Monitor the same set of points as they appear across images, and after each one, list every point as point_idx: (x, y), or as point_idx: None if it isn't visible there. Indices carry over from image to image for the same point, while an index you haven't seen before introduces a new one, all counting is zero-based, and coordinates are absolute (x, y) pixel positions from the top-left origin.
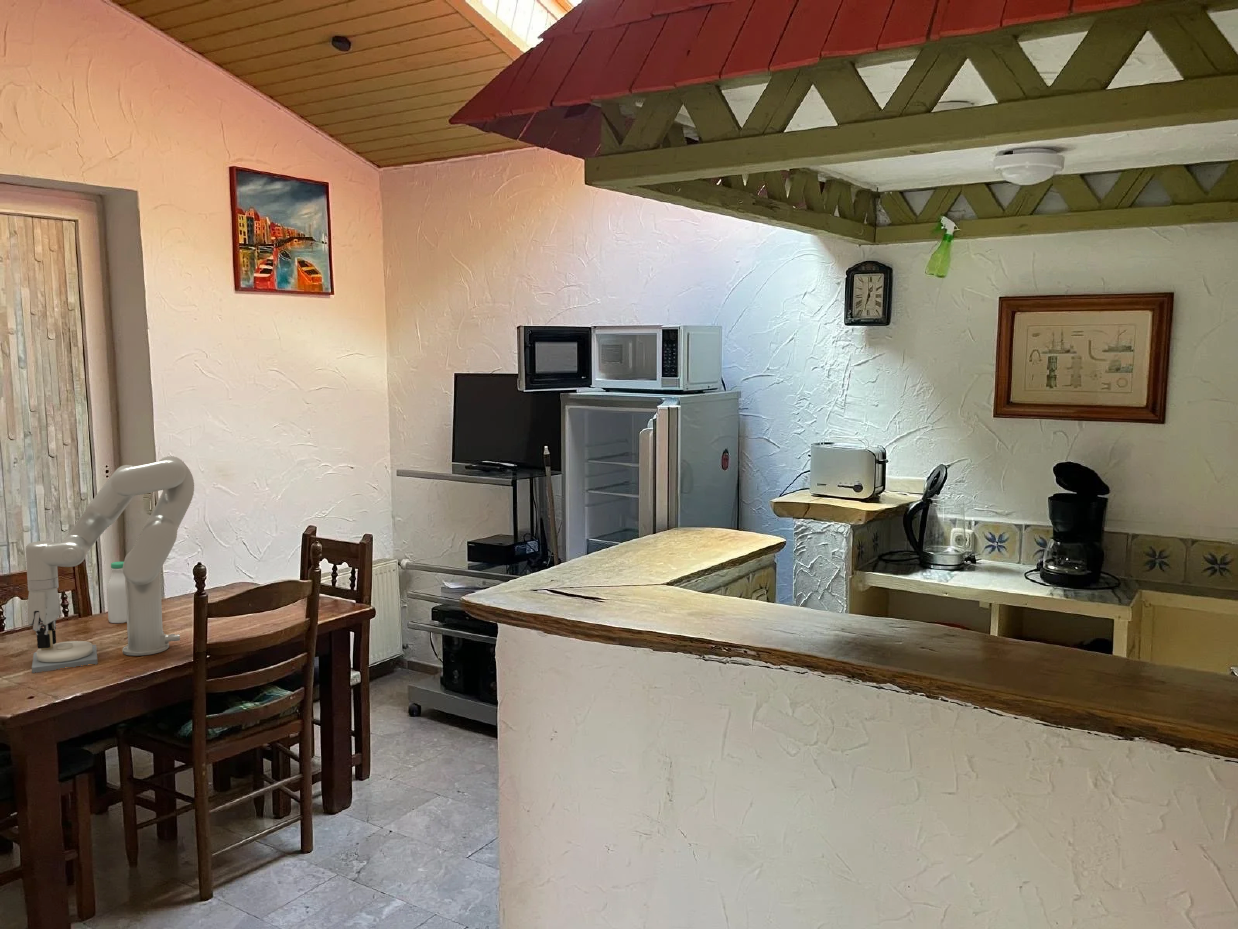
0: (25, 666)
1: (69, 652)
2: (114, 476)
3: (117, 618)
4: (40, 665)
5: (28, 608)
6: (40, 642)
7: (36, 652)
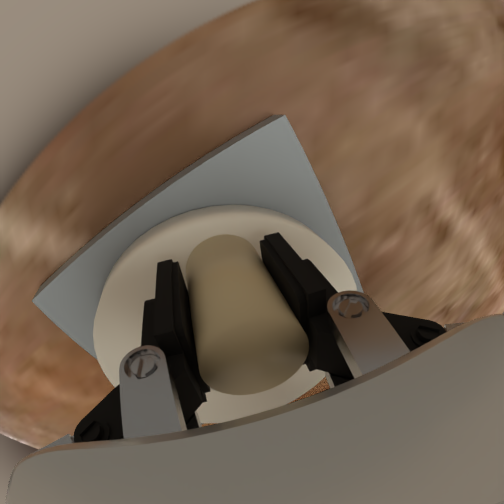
0: (111, 176)
1: None
2: None
3: None
4: (68, 315)
5: None
6: (147, 322)
7: (130, 260)
